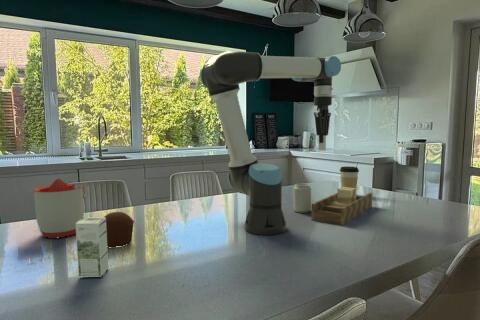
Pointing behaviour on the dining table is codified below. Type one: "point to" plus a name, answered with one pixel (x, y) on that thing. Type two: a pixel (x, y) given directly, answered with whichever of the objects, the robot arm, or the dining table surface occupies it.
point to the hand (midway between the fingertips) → (322, 150)
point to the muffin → (118, 229)
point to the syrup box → (92, 246)
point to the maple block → (346, 195)
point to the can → (302, 198)
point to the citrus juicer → (58, 208)
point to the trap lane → (340, 209)
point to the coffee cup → (349, 176)
